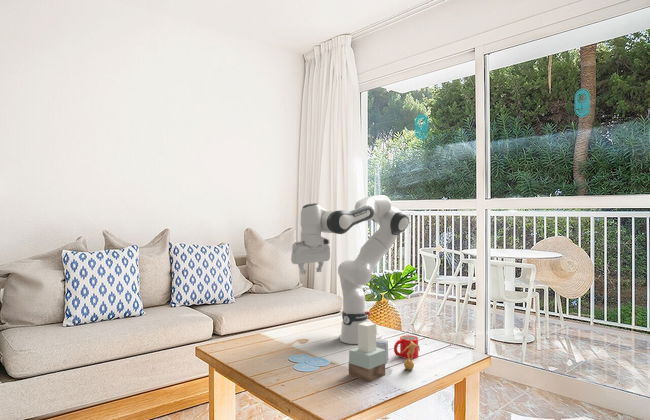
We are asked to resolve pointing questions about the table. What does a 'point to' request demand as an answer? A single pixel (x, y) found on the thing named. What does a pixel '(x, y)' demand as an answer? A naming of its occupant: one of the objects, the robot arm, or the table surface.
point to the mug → (404, 343)
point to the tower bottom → (366, 372)
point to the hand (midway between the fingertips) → (311, 273)
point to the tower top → (367, 358)
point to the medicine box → (383, 346)
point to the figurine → (409, 363)
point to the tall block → (367, 337)
